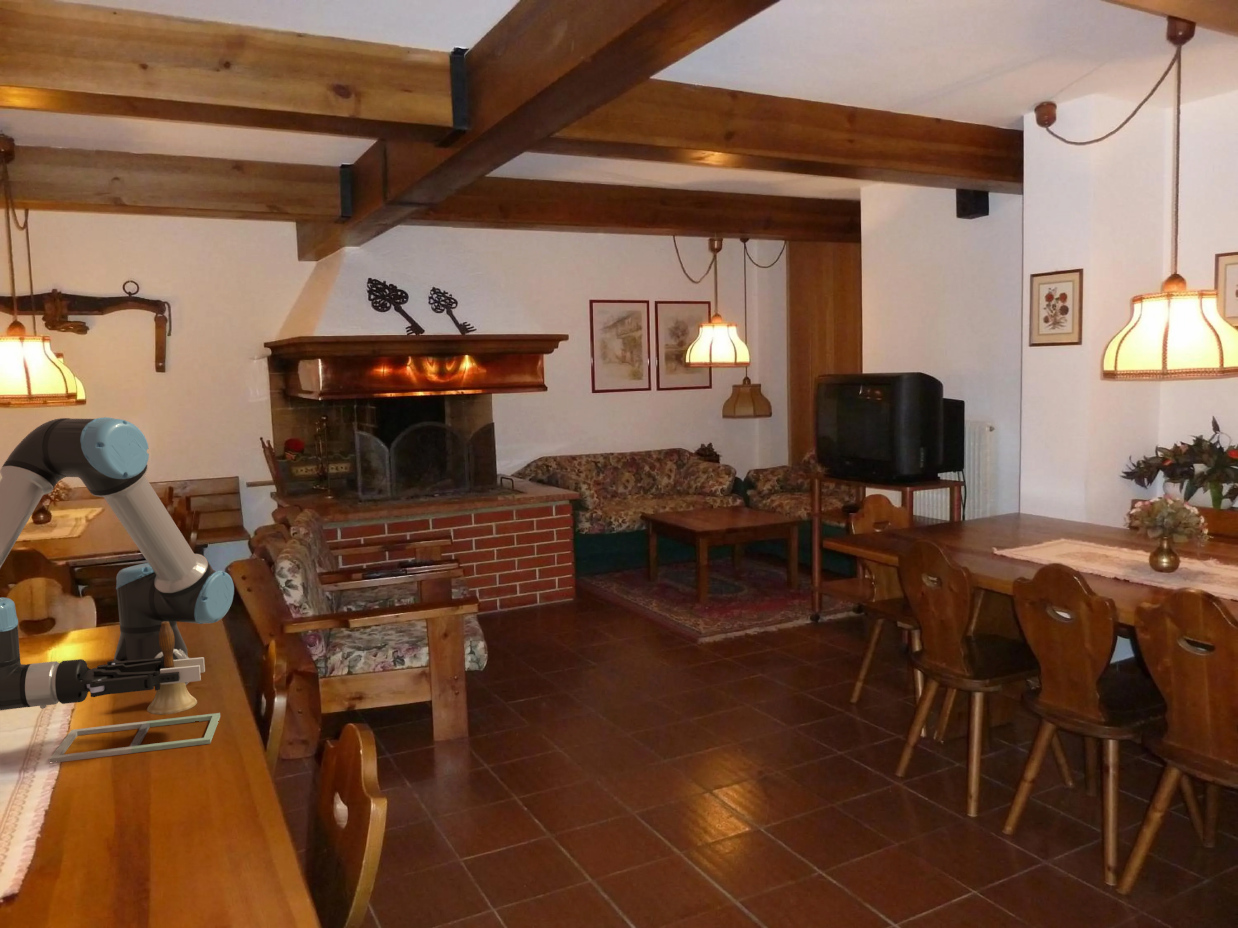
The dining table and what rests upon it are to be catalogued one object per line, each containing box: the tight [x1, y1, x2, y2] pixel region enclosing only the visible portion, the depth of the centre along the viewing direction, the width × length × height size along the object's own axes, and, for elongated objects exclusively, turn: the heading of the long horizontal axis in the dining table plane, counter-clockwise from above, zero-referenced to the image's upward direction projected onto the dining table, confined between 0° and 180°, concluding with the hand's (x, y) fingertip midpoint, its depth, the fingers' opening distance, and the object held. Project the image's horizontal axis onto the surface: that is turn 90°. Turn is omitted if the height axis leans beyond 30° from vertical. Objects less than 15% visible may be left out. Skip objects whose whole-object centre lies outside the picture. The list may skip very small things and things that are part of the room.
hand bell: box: [146, 621, 198, 716], centre depth 170 cm, size 8×8×16 cm
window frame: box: [49, 712, 221, 763], centre depth 170 cm, size 13×26×1 cm, turn 106°
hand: (201, 668), depth 172 cm, fingers closed on hand bell, 4 cm apart
